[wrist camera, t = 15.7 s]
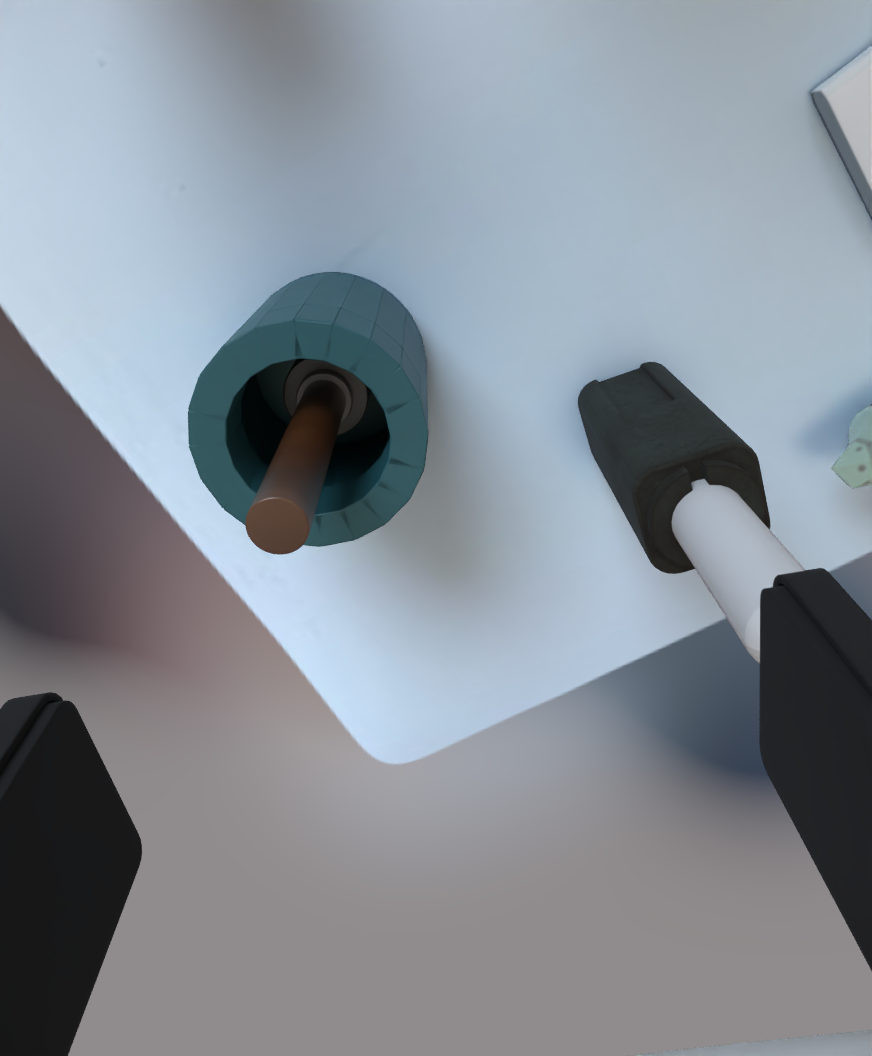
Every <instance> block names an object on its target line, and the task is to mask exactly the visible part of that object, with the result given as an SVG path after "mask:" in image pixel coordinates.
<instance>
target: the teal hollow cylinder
mask: <svg viewBox="0 0 872 1056" xmlns="http://www.w3.org/2000/svg"><path fill="white" fill-rule="evenodd" d="M296 359H308V360H317V361H325V362H328V363H330V364H332V365H335V366H337V367H339V368H342V369H344V370H346V371H348V372H351V373H352V374H353V375H354V376H355V377H357V378H358V379H359V380H360V381H361V382H362V383H364V384H365V385H366V386H367V387H368V388H369V389H371V391H370V396H369V401H368V406H367V410H366V412H365V415H364V417H363V418H362V420H361V421H360V422H359V424H358V425H357V426H356V427H354V428H353V429H352V430H350V431H348V432H347V433H344V434H342V435H338V436H337V438H336V441H335V445H334V448H333V452H332V455H331V459H330V462H329V466H328V469H327V473H326V477H325V480H324V484H323V487H322V491H321V494H320V498H319V501H318V505H317V508H316V512H315V515H314V519H313V522H312V526H311V530H310V533H309V536H308V539H307V540H306V542H305V543H304V545H308V546H319V547H320V546H327V545H332V544H337V543H342V542H347V541H353V540H355V539H358V538H360V537H362V536H364V535H366V534H368V533H370V532H372V531H374V530H376V529H377V528H379V527H381V526H383V525H385V523H387V522H388V521H389V520H390V519H391V518H392V517H393V516H394V515H395V514H396V513H397V512H398V511H399V510H400V509H401V508H402V507H403V506H404V505H405V504H406V503H407V502H408V501H409V499H410V498H411V496H412V494H413V492H414V490H415V488H416V486H417V484H418V481H419V479H420V477H421V475H422V473H423V471H424V467H425V460H426V451H427V443H428V405H427V366H426V358H425V352H424V346H423V342H422V339H421V335H420V333H419V330H418V328H417V326H416V324H415V322H414V320H413V318H412V317H411V315H410V313H409V312H408V311H407V310H406V308H405V307H404V306H403V304H402V303H401V302H400V301H399V300H398V299H397V298H396V297H395V296H394V295H392V294H391V293H390V292H388V291H387V290H386V289H384V288H383V287H381V286H380V285H378V284H376V283H374V282H372V281H370V280H368V279H365V278H363V277H360V276H356V275H352V274H347V273H340V272H324V273H317V274H312V275H308V276H305V277H301V278H299V279H297V280H295V281H293V282H290V283H289V284H287V285H286V286H284V287H283V288H281V289H280V290H279V291H277V292H275V293H274V294H273V295H271V296H270V297H269V299H268V300H267V301H266V302H265V303H264V304H263V305H262V306H261V307H260V308H259V309H258V310H257V311H256V312H255V313H254V314H253V315H252V316H251V317H250V318H249V319H248V320H247V321H246V322H245V323H244V325H243V326H242V327H241V328H240V329H239V330H238V331H237V332H236V333H235V334H234V335H233V336H232V337H231V338H230V339H229V340H228V341H227V342H226V343H225V344H224V345H223V346H222V347H221V349H220V350H219V351H218V352H217V354H216V355H215V356H214V357H213V359H212V360H211V361H210V362H209V364H208V365H207V366H206V367H205V369H204V370H203V371H202V372H201V374H200V376H199V378H198V381H197V384H196V387H195V390H194V393H193V396H192V399H191V402H190V405H189V411H188V429H189V445H190V446H189V448H190V451H191V454H192V456H193V459H194V462H195V465H196V467H197V470H198V473H199V476H200V478H201V479H202V482H203V483H204V484H205V485H206V487H207V488H208V489H209V491H210V492H211V493H212V495H213V496H214V497H215V499H216V500H217V501H218V503H219V504H220V505H221V507H222V508H224V510H225V511H227V512H228V513H229V514H231V515H232V516H233V517H235V518H236V519H238V520H239V521H240V522H242V523H243V524H244V525H245V522H246V516H247V513H248V511H249V509H250V507H251V504H252V502H253V500H254V498H255V496H256V494H257V492H258V489H259V487H260V485H261V483H262V481H263V479H264V476H265V474H266V472H267V470H268V468H269V466H270V464H271V461H272V459H273V457H274V455H275V453H276V451H277V448H278V446H279V444H280V442H281V440H282V438H283V436H284V433H285V431H286V429H287V427H288V425H289V423H290V420H291V417H290V415H289V414H288V412H287V410H286V407H285V404H284V400H283V387H284V382H285V379H286V377H287V375H288V373H289V371H290V369H291V368H292V366H293V364H294V362H295V360H296Z"/></svg>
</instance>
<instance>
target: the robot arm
mask: <svg viewBox="0 0 872 1056" xmlns="http://www.w3.org/2000/svg"><path fill="white" fill-rule="evenodd" d="M760 751H761V756H762V760H763V764H764V767H765V769H766V771H767V774H768V776H769V777H770V779H771V781H772V783H773V785H774V787H775V789H776V791H777V793H778V795H779V796H780V798H781V800H782V802H783V804H784V806H785V808H786V810H787V812H788V813H789V815H790V817H791V819H792V821H793V823H794V825H795V827H796V829H797V831H798V832H799V834H800V836H801V838H802V840H803V842H804V844H805V846H806V848H807V849H808V851H809V853H810V855H811V857H812V859H813V861H814V863H815V865H816V866H817V868H818V870H819V872H820V874H821V876H822V878H823V880H824V882H825V883H826V885H827V887H828V889H829V891H830V893H831V895H832V897H833V898H834V900H835V902H836V904H837V906H838V908H839V910H840V912H841V914H842V916H843V917H844V919H845V921H846V923H847V925H848V927H849V929H850V931H851V932H852V934H853V936H854V938H855V940H856V942H857V944H858V946H859V947H860V950H861V951H862V953H863V955H864V957H865V959H866V961H867V963H868V965H869V966H870V969H871V970H872V620H871V619H870V618H869V617H868V616H867V614H866V613H865V612H864V611H863V610H862V609H861V608H860V607H859V606H858V604H856V602H855V601H854V600H853V599H852V598H851V597H850V596H849V594H847V592H846V591H845V590H844V589H843V588H842V587H841V586H840V584H839V583H838V582H837V581H836V580H835V579H834V578H833V577H832V576H831V574H830V573H829V572H828V571H826V570H825V569H822V568H818V569H812V570H805V571H799V572H793V573H787V574H781V575H777V576H776V577H775V579H774V582H773V587H770V588H764V589H763V590H762V591H761V594H760ZM141 856H142V845H141V839H140V837H139V834H138V832H137V830H136V828H135V826H134V824H133V822H132V820H131V818H130V816H129V814H128V812H127V810H126V808H125V806H124V804H123V802H122V800H121V797H120V795H119V794H118V791H117V789H116V787H115V785H114V784H113V781H112V779H111V777H110V775H109V773H108V771H107V769H106V767H105V765H104V763H103V761H102V759H101V757H100V755H99V753H98V751H97V749H96V747H95V745H94V743H93V741H92V739H91V737H90V735H89V733H88V731H87V729H86V727H85V725H84V723H83V721H82V719H81V716H80V714H79V713H78V710H77V708H76V707H75V705H74V704H73V703H71V702H70V701H63V699H62V698H61V697H60V696H59V695H57V694H56V693H44V694H38V695H31V696H25V697H19V698H14V699H11V700H8V701H7V702H6V703H5V704H4V705H3V706H2V708H1V709H0V1056H68V1053H69V1051H70V1048H71V1045H72V1043H73V1040H74V1037H75V1035H76V1032H77V1029H78V1027H79V1024H80V1022H81V1019H82V1016H83V1014H84V1011H85V1008H86V1006H87V1003H88V1000H89V998H90V995H91V992H92V990H93V987H94V985H95V982H96V979H97V977H98V974H99V971H100V968H101V966H102V963H103V961H104V958H105V955H106V953H107V950H108V947H109V945H110V942H111V940H112V937H113V934H114V931H115V929H116V926H117V924H118V921H119V918H120V916H121V913H122V910H123V908H124V905H125V902H126V900H127V897H128V895H129V892H130V889H131V887H132V884H133V881H134V879H135V876H136V873H137V871H138V868H139V865H140V861H141ZM633 1056H872V1030H867V1031H857V1032H847V1033H837V1034H828V1035H817V1036H807V1037H797V1038H787V1039H777V1040H767V1041H756V1042H746V1043H737V1044H727V1045H718V1046H709V1047H701V1048H692V1049H684V1050H675V1051H666V1052H658V1053H649V1054H641V1055H633Z"/></svg>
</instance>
